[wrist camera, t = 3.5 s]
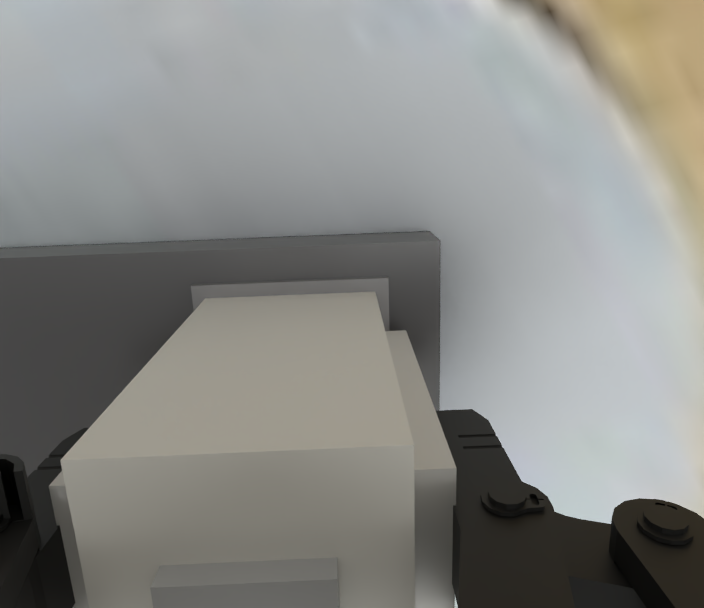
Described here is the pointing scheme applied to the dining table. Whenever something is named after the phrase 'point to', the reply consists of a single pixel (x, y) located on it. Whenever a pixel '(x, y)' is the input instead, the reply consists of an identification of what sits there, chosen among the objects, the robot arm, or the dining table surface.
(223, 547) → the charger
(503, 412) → the dining table surface
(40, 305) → the power strip
